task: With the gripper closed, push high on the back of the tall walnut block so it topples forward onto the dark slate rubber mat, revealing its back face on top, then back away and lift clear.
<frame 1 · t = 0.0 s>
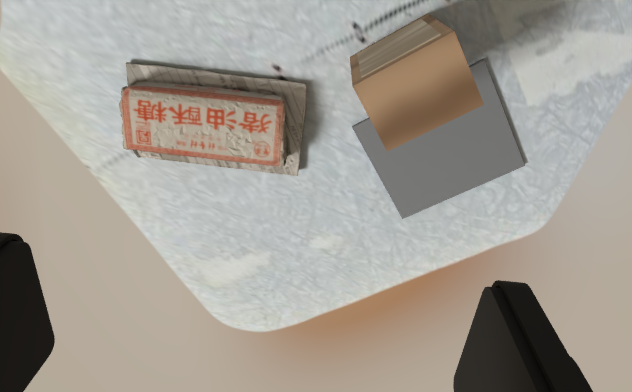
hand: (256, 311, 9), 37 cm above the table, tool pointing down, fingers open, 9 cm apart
packaged product: (219, 117, 47), on the table
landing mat: (438, 145, 47), on the table
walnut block: (400, 64, 43), on the table
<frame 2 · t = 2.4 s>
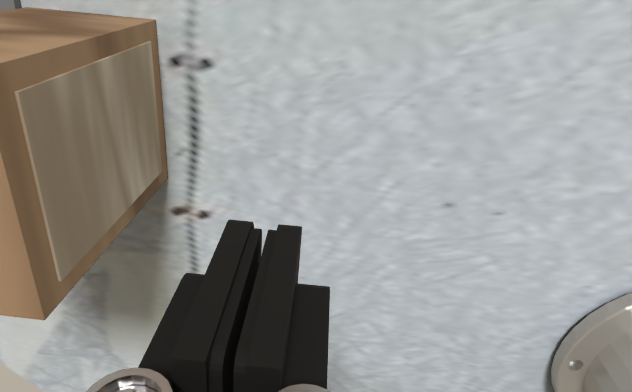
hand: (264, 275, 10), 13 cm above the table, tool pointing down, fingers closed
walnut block: (103, 98, 22), on the table
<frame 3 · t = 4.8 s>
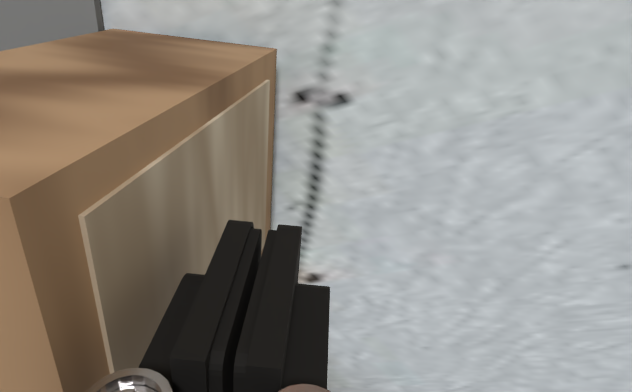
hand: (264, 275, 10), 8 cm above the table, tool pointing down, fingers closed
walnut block: (197, 147, 17), on the table, tilted 9°
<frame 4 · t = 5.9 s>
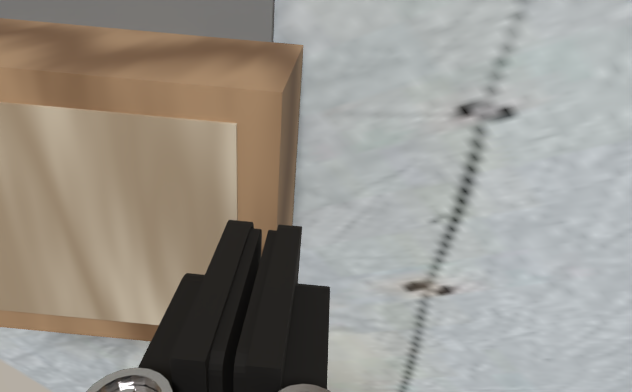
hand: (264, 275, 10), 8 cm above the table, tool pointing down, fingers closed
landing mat: (111, 133, 17), on the table
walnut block: (288, 190, 14), point 3 cm above the table, tilted 90°, touching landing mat
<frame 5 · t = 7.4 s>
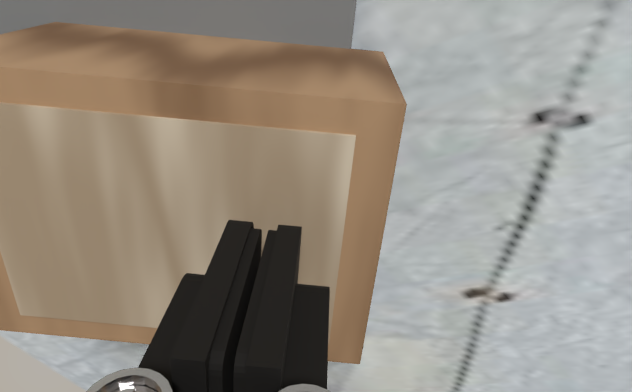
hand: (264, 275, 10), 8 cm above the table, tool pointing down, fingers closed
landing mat: (177, 140, 17), on the table
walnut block: (372, 199, 14), point 3 cm above the table, tilted 90°, touching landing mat
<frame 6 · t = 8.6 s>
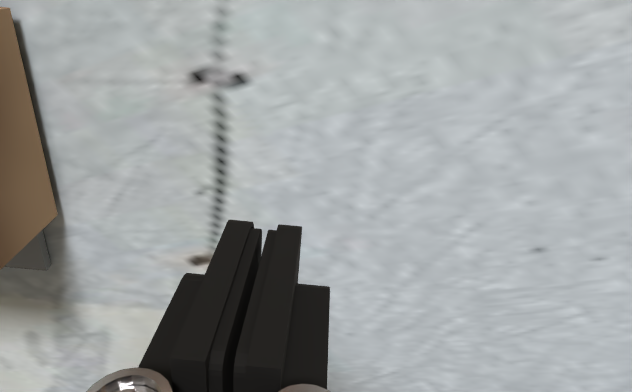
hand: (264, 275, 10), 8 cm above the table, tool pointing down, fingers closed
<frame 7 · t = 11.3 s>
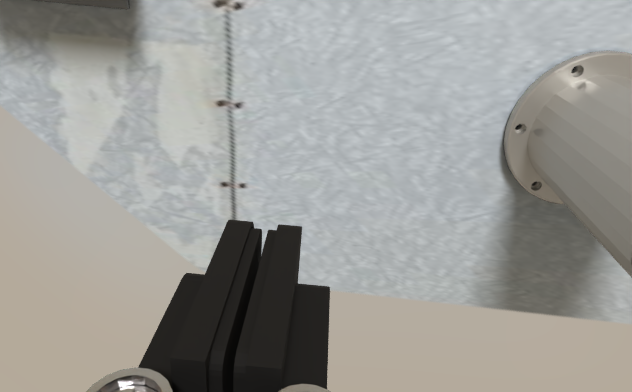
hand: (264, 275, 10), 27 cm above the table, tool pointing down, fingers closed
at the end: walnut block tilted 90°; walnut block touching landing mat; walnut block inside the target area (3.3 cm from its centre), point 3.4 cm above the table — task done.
